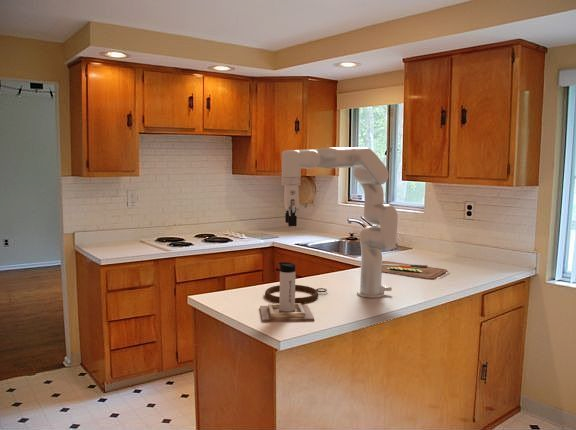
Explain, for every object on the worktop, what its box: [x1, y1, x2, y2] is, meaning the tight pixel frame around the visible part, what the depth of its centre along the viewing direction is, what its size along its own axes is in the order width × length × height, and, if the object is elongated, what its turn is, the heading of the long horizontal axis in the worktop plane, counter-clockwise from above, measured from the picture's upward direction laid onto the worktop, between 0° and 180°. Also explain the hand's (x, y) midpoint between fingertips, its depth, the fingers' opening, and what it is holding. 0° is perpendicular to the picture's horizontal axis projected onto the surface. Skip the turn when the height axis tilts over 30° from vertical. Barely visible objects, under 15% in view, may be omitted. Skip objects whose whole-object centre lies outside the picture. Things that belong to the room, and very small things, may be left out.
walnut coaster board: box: [259, 303, 315, 323], centre depth 208 cm, size 20×18×2 cm
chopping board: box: [382, 260, 451, 280], centre depth 292 cm, size 45×27×3 cm, turn 55°
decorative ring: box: [264, 284, 328, 305], centre depth 236 cm, size 24×3×30 cm
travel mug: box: [278, 261, 296, 313], centre depth 207 cm, size 6×7×20 cm
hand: (290, 224), depth 208 cm, fingers open, 9 cm apart
